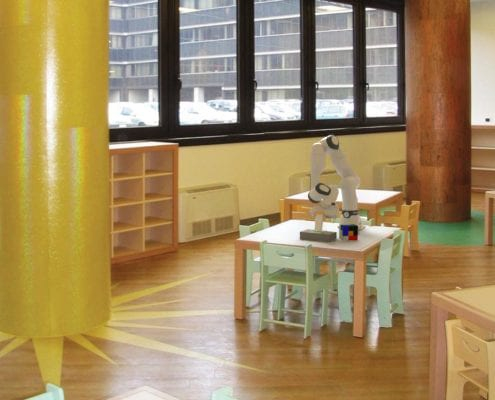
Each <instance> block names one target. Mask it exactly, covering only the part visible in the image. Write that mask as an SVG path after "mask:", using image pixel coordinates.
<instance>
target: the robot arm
mask: <svg viewBox="0 0 495 400" xmlns="http://www.w3.org/2000/svg"><path fill="white" fill-rule="evenodd" d="M326 155H329V158H330V160H331V163H332V165H333V167H334V169H335V171H336V173H337V174H338V176H340V177H341V179H340V181H339V183H338V185H339V188H340V191H339V188H338V187H337V186H336V185H334V184H330V185H329V184H325V183H322V182H320V178H321V174H322V173H323V171H324V170H325V168H326V163H327V161H326V160H327V159H326V158H327V156H326ZM309 158H310V159H309V160H310V163H309V164H310V172H309V173H310V175H309V179H310V180H309V192H308V194H307V199H308V201H310V203H312V204H314V205H313V206H312V208H311V209H310V210H309V215H310V216H311V217H314V218H315V217H316V214H315V211H322V212H324V215H323V222H325V220H327V219H335V220H336V219H337V218H338V216H339V214H340V207H339V205H338V203H336V202H337V200H338V196H339V193H340V192H341V198H342V199H341V201H342V202H341V203H342V206H341V207H342V208H341V215H340V216H339V221H338V222H339V223H338V224H355V225H357V226H358V231H359V230H360V231H362V230H364V228H366V225H363V219H362V218H361V216H360V214H359V213H360V209H358V196H357V192H356V190H358V188H360V187H361V184H362V180H361V178H360V177H359V176H358V174H357V172H356V171H355V170H354V169H353V167H352V165H351V164H350V162H349V159H348V157H347V156H346V152H344V150H343V148H342V147H341V145H340V141H339V138H338V136H336V135H334V134H328V135H327V136H326V137H324V138H322V139H320V140H319V141H317V142H316V143H313V144H312V145H311V147H310V152H309ZM320 202H321V203H320ZM337 228H338V229H339V225H337Z"/></svg>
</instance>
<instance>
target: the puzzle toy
mask: <svg viewBox="0 0 495 400" xmlns="http://www.w3.org/2000/svg"><path fill="white" fill-rule="evenodd" d="M338 224H339V223H338ZM338 226H339V228H338V229H339V230H338V235H339V237H338V239H340V240H341V241H343V242H350V241H351V242H352V241H353V242H355V241H359V230H358V226H357V225H355V224H339V225H338Z"/></svg>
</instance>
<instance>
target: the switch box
mask: <svg viewBox="0 0 495 400" xmlns="http://www.w3.org/2000/svg"><path fill="white" fill-rule="evenodd" d="M337 234H338V233H337V231H331V230H325V229H324V230H323V229H322V231H319V230H315V229H310V228H308V229H307V228H306V229H304V230H301V231H299V240H305V239H306V240H307V241H317V242H324V241H326V243H330V242H333V241H335V240H337V237H338V236H337Z"/></svg>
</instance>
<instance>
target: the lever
mask: <svg viewBox="0 0 495 400" xmlns="http://www.w3.org/2000/svg"><path fill="white" fill-rule="evenodd" d="M315 214H316V217H314V219H315V221H314V230H319V231H322V230H323V225H324V224H323V223H324V221H323V215H324V212H322V211H315Z"/></svg>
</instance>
